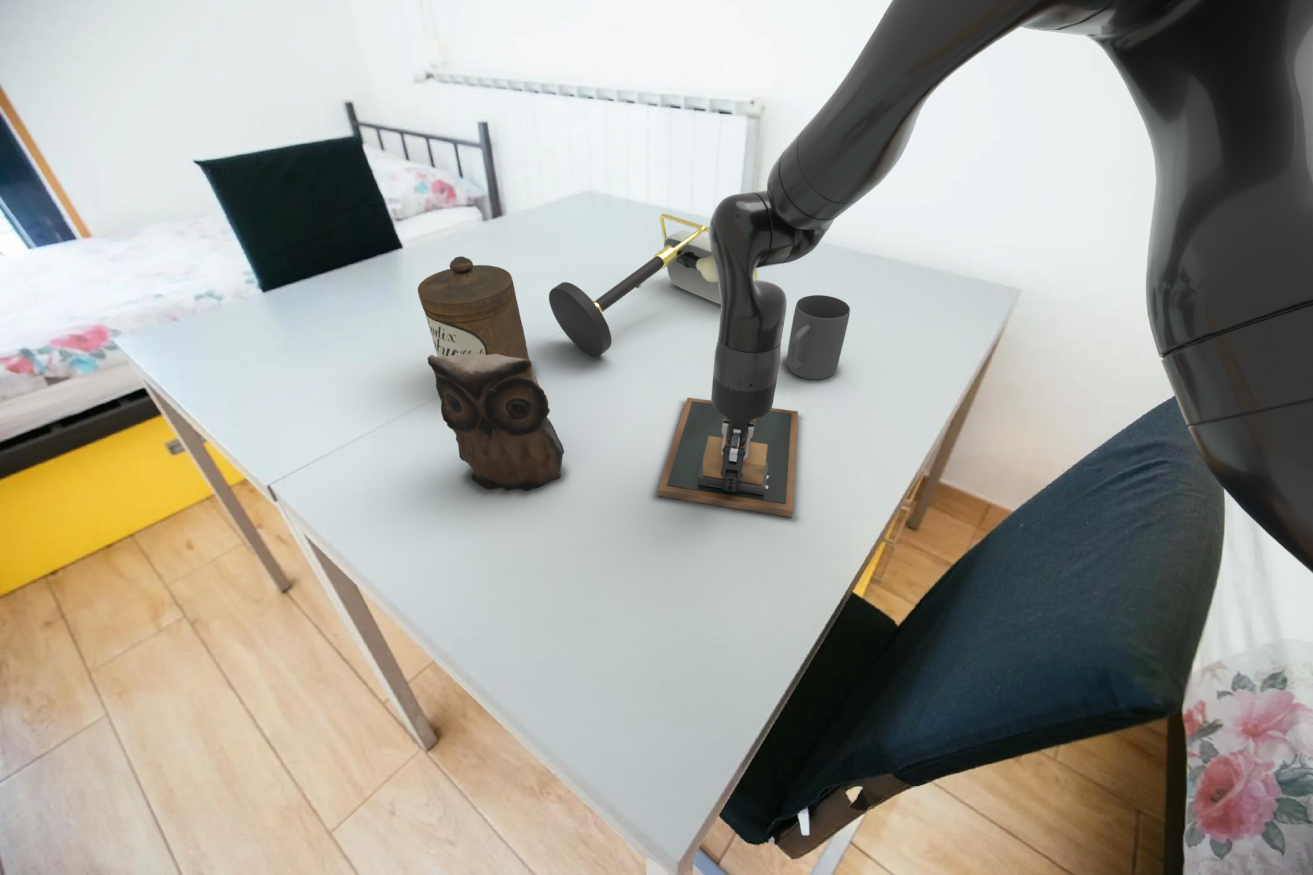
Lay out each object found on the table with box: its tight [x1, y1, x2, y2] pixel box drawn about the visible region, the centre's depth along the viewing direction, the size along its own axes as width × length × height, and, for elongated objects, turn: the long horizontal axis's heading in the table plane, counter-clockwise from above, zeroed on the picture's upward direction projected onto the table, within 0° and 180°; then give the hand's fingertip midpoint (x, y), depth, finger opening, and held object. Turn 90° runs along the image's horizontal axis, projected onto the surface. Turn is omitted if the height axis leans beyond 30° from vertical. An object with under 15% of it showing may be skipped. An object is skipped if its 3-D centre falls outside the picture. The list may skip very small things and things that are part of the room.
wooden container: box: [417, 256, 532, 371], centre depth 90 cm, size 15×15×22 cm
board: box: [657, 397, 799, 518], centre depth 80 cm, size 18×22×2 cm
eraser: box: [698, 436, 768, 495], centre depth 73 cm, size 9×5×5 cm, turn 77°
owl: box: [427, 353, 565, 492], centre depth 72 cm, size 13×13×20 cm
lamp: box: [548, 213, 759, 357], centre depth 108 cm, size 27×23×40 cm
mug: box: [786, 294, 851, 381], centre depth 94 cm, size 14×9×12 cm
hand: (732, 475), depth 74 cm, fingers closed on eraser, 5 cm apart
